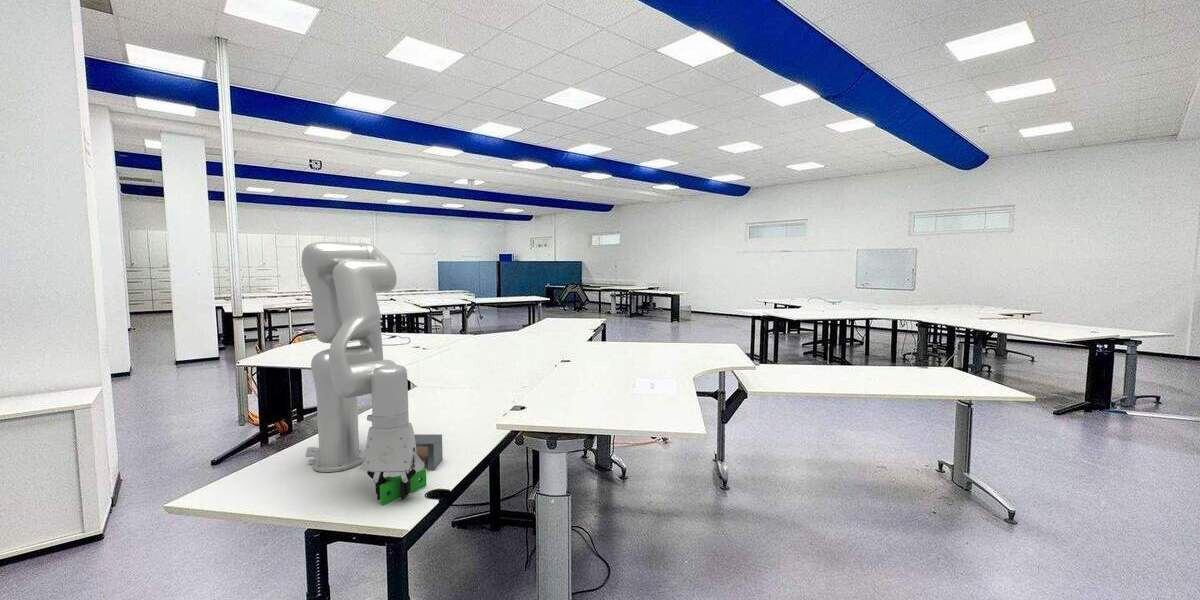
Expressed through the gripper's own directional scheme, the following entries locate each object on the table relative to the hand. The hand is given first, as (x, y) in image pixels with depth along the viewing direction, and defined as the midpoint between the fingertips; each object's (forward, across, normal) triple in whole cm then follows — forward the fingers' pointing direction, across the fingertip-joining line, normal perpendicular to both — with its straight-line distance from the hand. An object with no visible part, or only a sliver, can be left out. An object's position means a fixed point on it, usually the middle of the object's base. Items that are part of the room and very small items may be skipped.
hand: (393, 496), depth 106 cm
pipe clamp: (+1, +1, +2) cm, 3 cm away
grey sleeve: (0, -3, +18) cm, 18 cm away
